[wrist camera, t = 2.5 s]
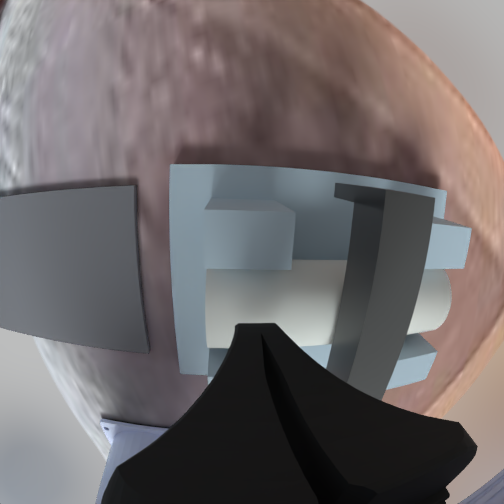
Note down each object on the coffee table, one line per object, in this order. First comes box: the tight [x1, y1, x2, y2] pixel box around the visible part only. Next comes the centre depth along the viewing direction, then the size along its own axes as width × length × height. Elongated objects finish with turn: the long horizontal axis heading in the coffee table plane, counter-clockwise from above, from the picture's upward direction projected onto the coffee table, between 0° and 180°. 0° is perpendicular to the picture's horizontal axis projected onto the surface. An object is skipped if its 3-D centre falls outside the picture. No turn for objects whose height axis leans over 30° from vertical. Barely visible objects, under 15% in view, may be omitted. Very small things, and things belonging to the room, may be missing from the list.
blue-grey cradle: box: [169, 164, 472, 390], centre depth 13 cm, size 12×16×5 cm
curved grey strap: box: [326, 183, 435, 400], centre depth 10 cm, size 11×2×4 cm, turn 177°
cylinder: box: [205, 259, 452, 348], centre depth 13 cm, size 4×12×4 cm, turn 87°
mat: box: [0, 185, 150, 354], centre depth 14 cm, size 10×14×1 cm
